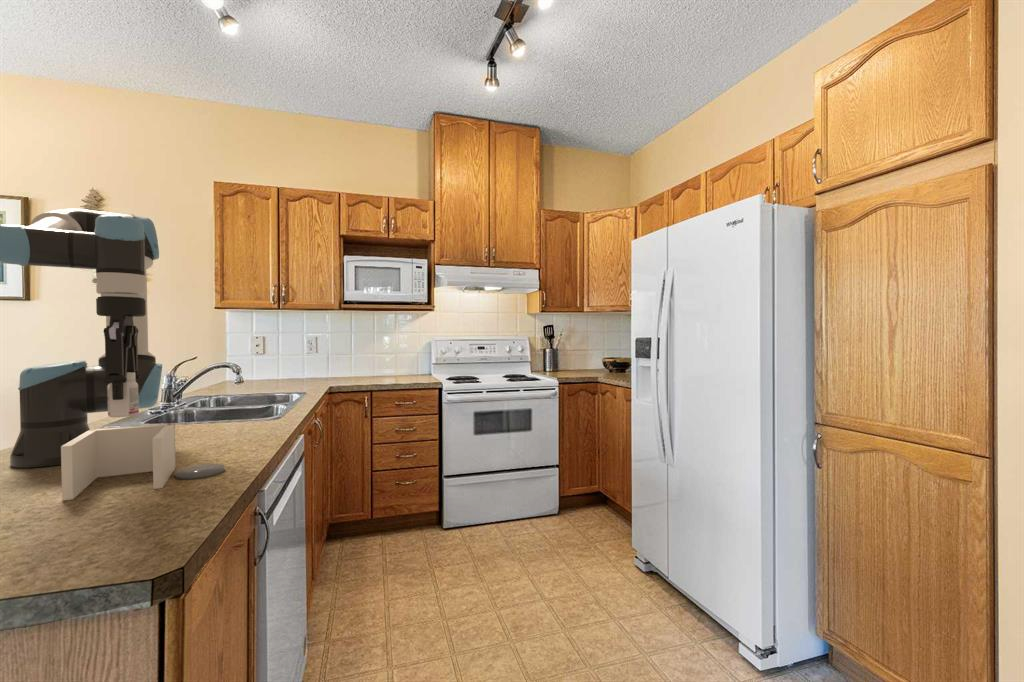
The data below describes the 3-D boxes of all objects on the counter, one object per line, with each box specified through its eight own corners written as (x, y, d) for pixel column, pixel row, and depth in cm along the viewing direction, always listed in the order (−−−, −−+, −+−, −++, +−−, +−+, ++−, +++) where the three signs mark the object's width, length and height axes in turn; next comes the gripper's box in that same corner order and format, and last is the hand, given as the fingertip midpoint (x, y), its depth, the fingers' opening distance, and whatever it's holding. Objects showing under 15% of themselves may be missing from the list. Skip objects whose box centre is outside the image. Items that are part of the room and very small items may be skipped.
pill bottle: (134, 412, 97) (133, 371, 97) (142, 415, 94) (141, 373, 94) (104, 415, 93) (103, 373, 93) (111, 418, 90) (110, 374, 90)
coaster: (178, 470, 105) (178, 466, 105) (225, 465, 109) (225, 461, 109) (171, 482, 97) (171, 478, 97) (223, 475, 101) (222, 472, 101)
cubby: (90, 476, 101) (89, 429, 100) (175, 467, 108) (174, 423, 107) (62, 500, 87) (60, 446, 86) (162, 487, 94) (161, 437, 93)
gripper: (110, 298, 99) (112, 408, 100) (80, 292, 84) (83, 423, 84) (154, 299, 103) (156, 405, 103) (133, 294, 87) (135, 420, 88)
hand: (123, 413), depth 94 cm, fingers closed on pill bottle, 5 cm apart
